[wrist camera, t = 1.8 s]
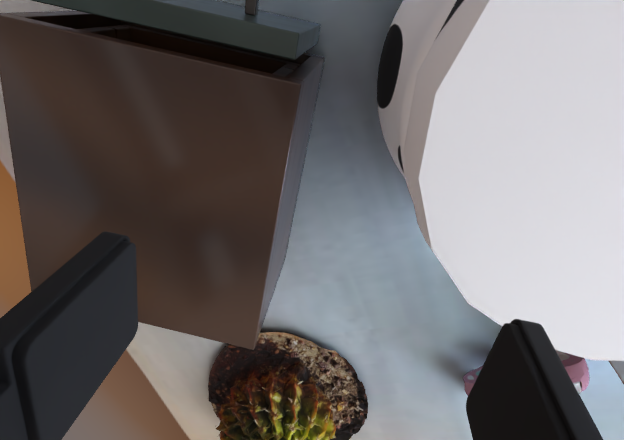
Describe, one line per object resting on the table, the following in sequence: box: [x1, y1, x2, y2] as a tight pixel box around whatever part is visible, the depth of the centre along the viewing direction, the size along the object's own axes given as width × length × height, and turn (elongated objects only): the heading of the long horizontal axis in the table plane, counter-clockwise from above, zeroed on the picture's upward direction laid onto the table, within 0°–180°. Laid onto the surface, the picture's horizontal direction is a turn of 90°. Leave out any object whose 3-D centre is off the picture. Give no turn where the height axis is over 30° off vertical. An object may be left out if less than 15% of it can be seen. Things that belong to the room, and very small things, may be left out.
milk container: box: [377, 0, 624, 361], centre depth 20 cm, size 17×17×18 cm
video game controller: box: [463, 350, 589, 396], centre depth 36 cm, size 10×5×7 cm, turn 114°
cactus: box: [208, 332, 368, 440], centre depth 40 cm, size 17×16×10 cm
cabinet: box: [0, 11, 325, 350], centre depth 28 cm, size 17×15×11 cm
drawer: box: [32, 0, 321, 77], centre depth 26 cm, size 21×14×9 cm, turn 169°
